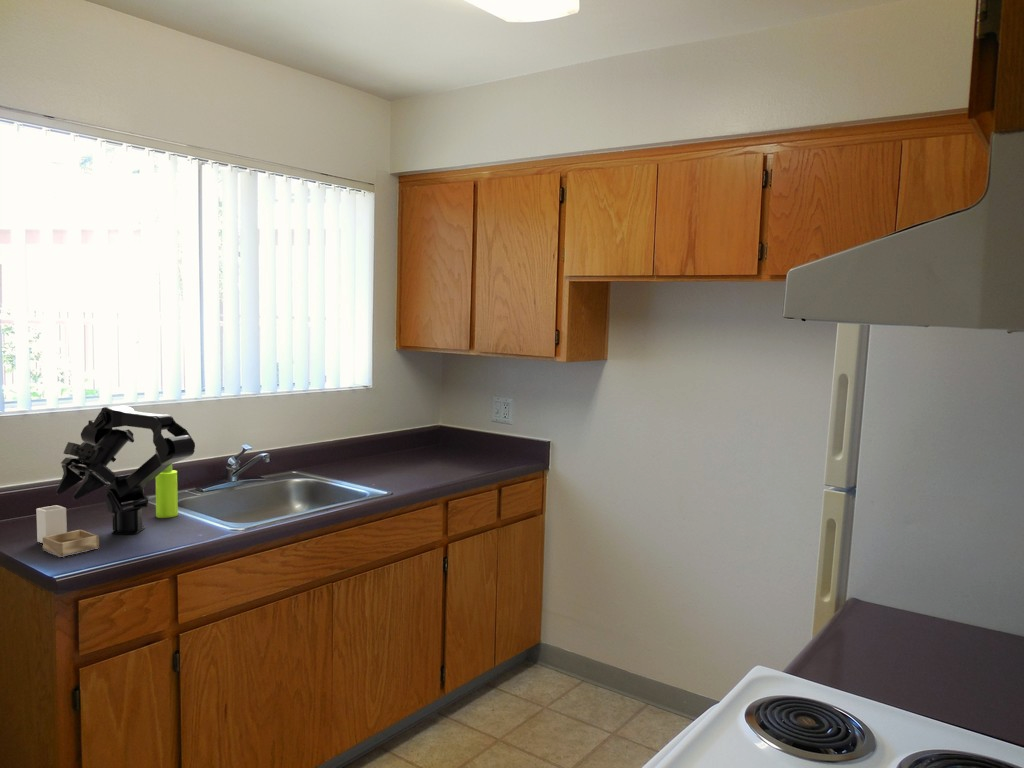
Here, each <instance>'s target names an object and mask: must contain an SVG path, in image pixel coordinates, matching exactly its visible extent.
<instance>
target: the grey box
mask: <svg viewBox="0 0 1024 768" xmlns="http://www.w3.org/2000/svg"><path fill="white" fill-rule="evenodd" d="M35 511H36V513H35V514H36V537H37V538H36V539H37V540H36V541H37V542H40V543H43V537H47V536H51V535H56V534H61V533H66V532H68V526H67V508H66V507H64V506H62V505H58V504H55V505H51V506H43V507H38V508H36V509H35Z"/></svg>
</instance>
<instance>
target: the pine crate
mask: <svg viewBox="0 0 1024 768" xmlns="http://www.w3.org/2000/svg"><path fill="white" fill-rule="evenodd" d="M95 548H99V549H100V535H97V534H94V533H92V532H89V531H85V530H83V529H77V530H72V531H67V532H66V533H61V534H56V535H51V536H47V537H43V545H42V551H43V550H46V551H49V552H51V553H54V554H56V555H59V556H63V555H68V554H72V553H77V552H82V551H86V550H91V549H95Z"/></svg>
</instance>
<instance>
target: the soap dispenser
mask: <svg viewBox="0 0 1024 768" xmlns="http://www.w3.org/2000/svg"><path fill="white" fill-rule="evenodd" d="M154 480H155V514H156V515H155V516H156V518H159V519H167V518H174V517H177V516H178V514H179V506H178V505H179V504H178V496H179V495H178V470H176V469H175V470H174V469H173V463H172V464H171V465H170V466H168V467H167V468H166V469H165V470H163V471H162V472H161V473H160V474H159V475H157V476H156V477H155V478H154Z"/></svg>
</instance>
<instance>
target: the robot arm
mask: <svg viewBox="0 0 1024 768" xmlns="http://www.w3.org/2000/svg"><path fill="white" fill-rule="evenodd" d="M121 427H132V428H133V427H134V428H139V429H140V428H141V429H147V430H151V431H152V433H153V435H152V443H153V446H155V453H154V455H152V456H151V457H150V458H149V459H147V460H146V461H145V462H144V463H143V464H141V465H140V466H139V467H138V468H137V469H136V470H134V471H133V472H132V473H128V474H122V475H118V476H116V473H115V472H114V471H112V469H110V468H109V467H108V465H109V464H110V463H114V462H116V461H117V458H115V457H116V456H117V455H118V454H119V452H120V451H121V450H122V449H123V447H125V446H126V444H127V443H128V442H130V443H134V442H135V437H134V433H133V432H132V431H131V429H125V430H124V429H123V430H121V429H119V428H121ZM163 430H166V431H167V432H168V433H169V434H171V435H172V436H171V437H170V436H169V437H164V435H163V434H162V431H163ZM80 438H81V440H82V441H83V442H82V443H81V444H79V443H74V442H70V441H68V442H67V444H66V446H65V448H64V450H63V454H64V455H70V456H69V457H65V458H64V459H63V460H62V461H61V462H60V465H61V469H62V472H63V474H62V477H61V480H60V482H59V484H58V486H57V488H56V490H55V494H56V495H59V496H60V495H62V494H63V493H65V492H67V490H69V489H70V488H72V487H74V486H75V485H76V484H79V483H80V482H81V481H82V482H81V483H80V485H79V486H78V488H77V489H76V491H75V492H74V494H73V495H72V499H73V500H78V499H80V498H83V497H84V496H86V495H88V494H91V493H92V492H94V491H96V490H99V489H100V488H103V487H105V492H104V499H105V502H106V507H107V509H108V512H110V513H111V514H113V515H112V516H111V520H112V521H111V525H112V526H111V527H112V531H111V534H112V535H136V534H138V533H140V532H141V531H143V530H144V529H146V526H144V525H143V508H147V507H148V504H149V499H148V497H147V496H146V494H145V493H144V488H145V486H146V485H147V484H149V483H150V482H151V481H153V480H155V477H156V476H157V475H159V474H160V473H161V472H162V471H163V470H165V469H166V468H167V467H168V466H170V465H171V464H172V465H173V464H174V463H177V462H180V461H183V460H185V459H187V458H190V457H191V456H193V455H194V453H195V450H196V443H195V441H194V439H193V438H192V436H191V435H190V433H189V432H188V430H187V429H186V428H185V427H183V426H182V425H180V424H179V423H178V422H176V420H175V419H174V417H173V416H172V415H171V414H165V413H164V414H159V413H153V412H152V413H151V412H144V411H136V410H135V408H133V407H130V406H127V405H124V404H123V405H116V406H115V405H113V406H104V407H102V408H101V411H100V412H99V413H98V415H96V418H95V419H89V420H88V423H87V425H85V426H84V427H83V428H82V431H81V432H80ZM72 456H74V457H72ZM76 457H77V458H76ZM106 486H107V487H106Z"/></svg>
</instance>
